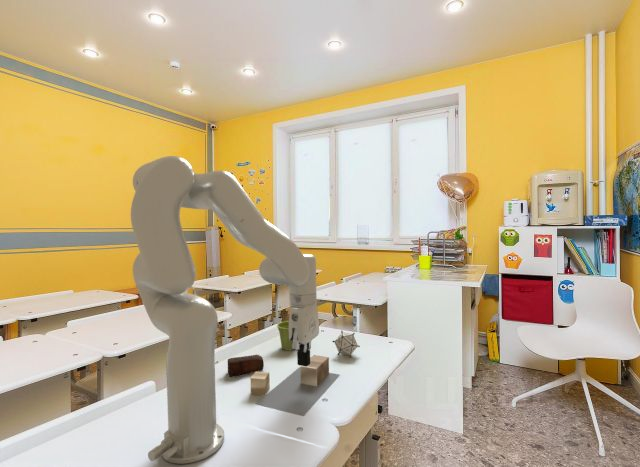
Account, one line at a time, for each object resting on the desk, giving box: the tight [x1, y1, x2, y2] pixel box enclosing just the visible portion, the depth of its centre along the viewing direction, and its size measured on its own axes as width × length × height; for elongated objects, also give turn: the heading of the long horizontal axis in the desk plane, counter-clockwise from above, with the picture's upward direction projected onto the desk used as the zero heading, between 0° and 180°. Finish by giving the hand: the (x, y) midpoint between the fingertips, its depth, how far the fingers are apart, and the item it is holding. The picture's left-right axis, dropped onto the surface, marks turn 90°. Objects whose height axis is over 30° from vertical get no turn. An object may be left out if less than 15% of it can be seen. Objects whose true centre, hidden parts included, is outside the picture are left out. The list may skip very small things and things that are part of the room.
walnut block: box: [299, 354, 330, 386], centre depth 102 cm, size 5×5×9 cm
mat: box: [255, 366, 341, 417], centre depth 96 cm, size 24×14×1 cm, turn 155°
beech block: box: [250, 371, 271, 397], centre depth 94 cm, size 4×4×5 cm
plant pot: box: [276, 320, 293, 351], centre depth 128 cm, size 9×9×9 cm
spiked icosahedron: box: [332, 330, 361, 358], centre depth 120 cm, size 9×8×10 cm
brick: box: [227, 354, 264, 378], centre depth 108 cm, size 11×4×5 cm, turn 111°
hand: (303, 364), depth 95 cm, fingers closed
